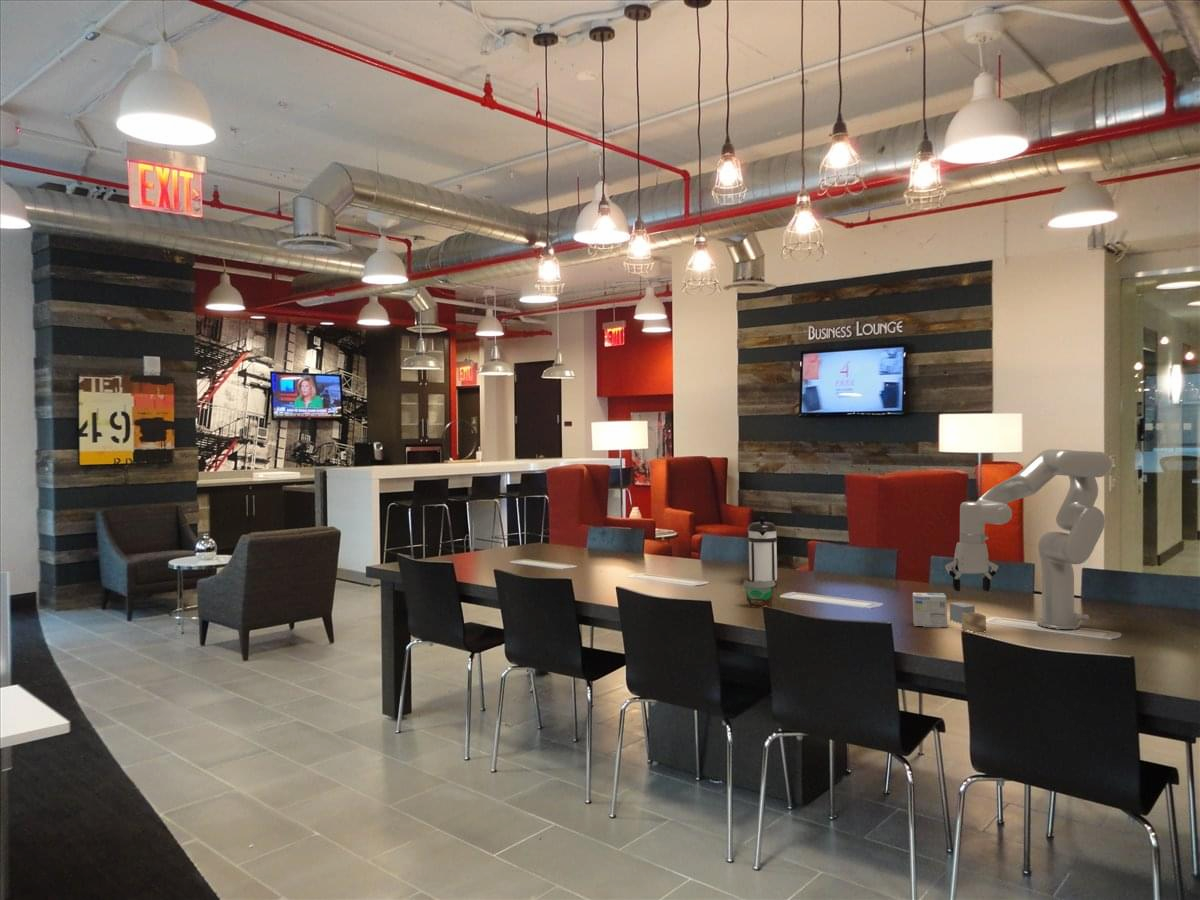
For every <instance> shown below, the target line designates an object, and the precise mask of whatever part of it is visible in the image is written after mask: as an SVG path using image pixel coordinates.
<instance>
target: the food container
mask: <svg viewBox="0 0 1200 900" xmlns="http://www.w3.org/2000/svg"><path fill="white" fill-rule="evenodd" d="M743 586H744V587H745V593H746V602H747V606H748V605H750V606H755V607H762V606H765V605H767V606H771V605H772V606H773V599H774V590H775V589H774V586H775V581H774V580H773V581H769V582H764V581H754V582H751V581H749V580H746V579H744V580H743ZM775 587H776V586H775ZM750 606H749V607H750ZM772 606H771V607H772ZM755 607H754V608H755Z"/></svg>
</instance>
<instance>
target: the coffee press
mask: <svg viewBox="0 0 1200 900" xmlns="http://www.w3.org/2000/svg"><path fill="white" fill-rule="evenodd" d="M765 520H766V518H765V517H764V516H760V517H759V521H756V522H752V523H750V524H749V525H748V527H747V531H748V536H747V540H748V566H749V567H748V569H749V571H748V573H749V574H748V575H749V580H750V581H751V582H754V581H764V582H769V581H773V580H774V581H776V582H775V585H777V586H778V584H777V580H778V556H777V555H778V554H777V553H778V552H777V549H778V547H777V545H778V544H777V541H778V536H777V531H778V528H777V527H776V525H775V524H774V523H773V522H769V521H765Z"/></svg>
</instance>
